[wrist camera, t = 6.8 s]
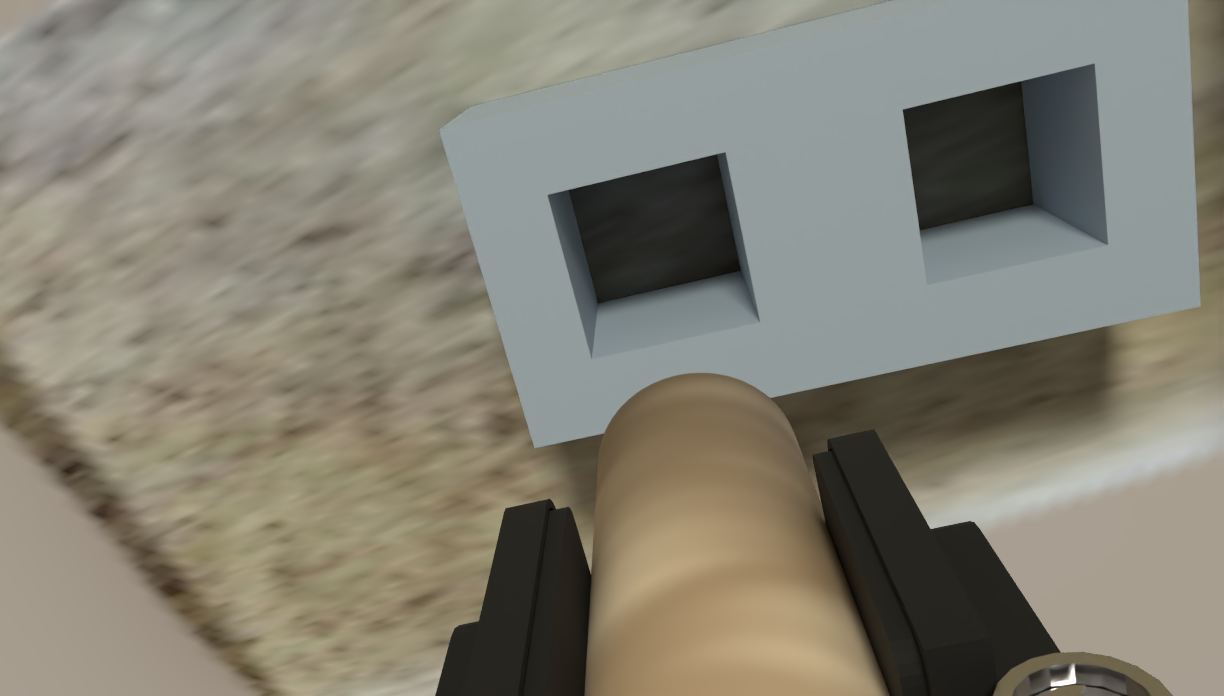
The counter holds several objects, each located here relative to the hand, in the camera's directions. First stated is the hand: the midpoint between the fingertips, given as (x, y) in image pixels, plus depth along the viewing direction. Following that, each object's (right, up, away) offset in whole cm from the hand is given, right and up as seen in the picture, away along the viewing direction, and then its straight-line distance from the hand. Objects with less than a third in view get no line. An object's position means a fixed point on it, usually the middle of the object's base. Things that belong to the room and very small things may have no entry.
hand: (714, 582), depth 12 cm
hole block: (+4, +8, +18) cm, 20 cm away
